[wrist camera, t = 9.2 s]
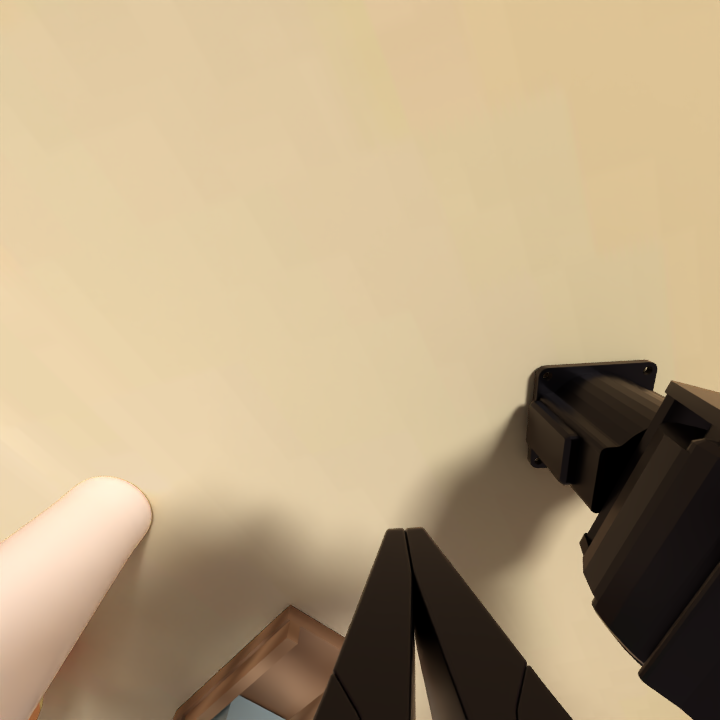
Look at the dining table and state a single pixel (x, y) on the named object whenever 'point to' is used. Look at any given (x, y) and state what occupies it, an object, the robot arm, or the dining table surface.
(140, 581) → the dining table surface
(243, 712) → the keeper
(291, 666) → the track
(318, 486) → the dining table surface
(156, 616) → the dining table surface
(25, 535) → the drinking glass
